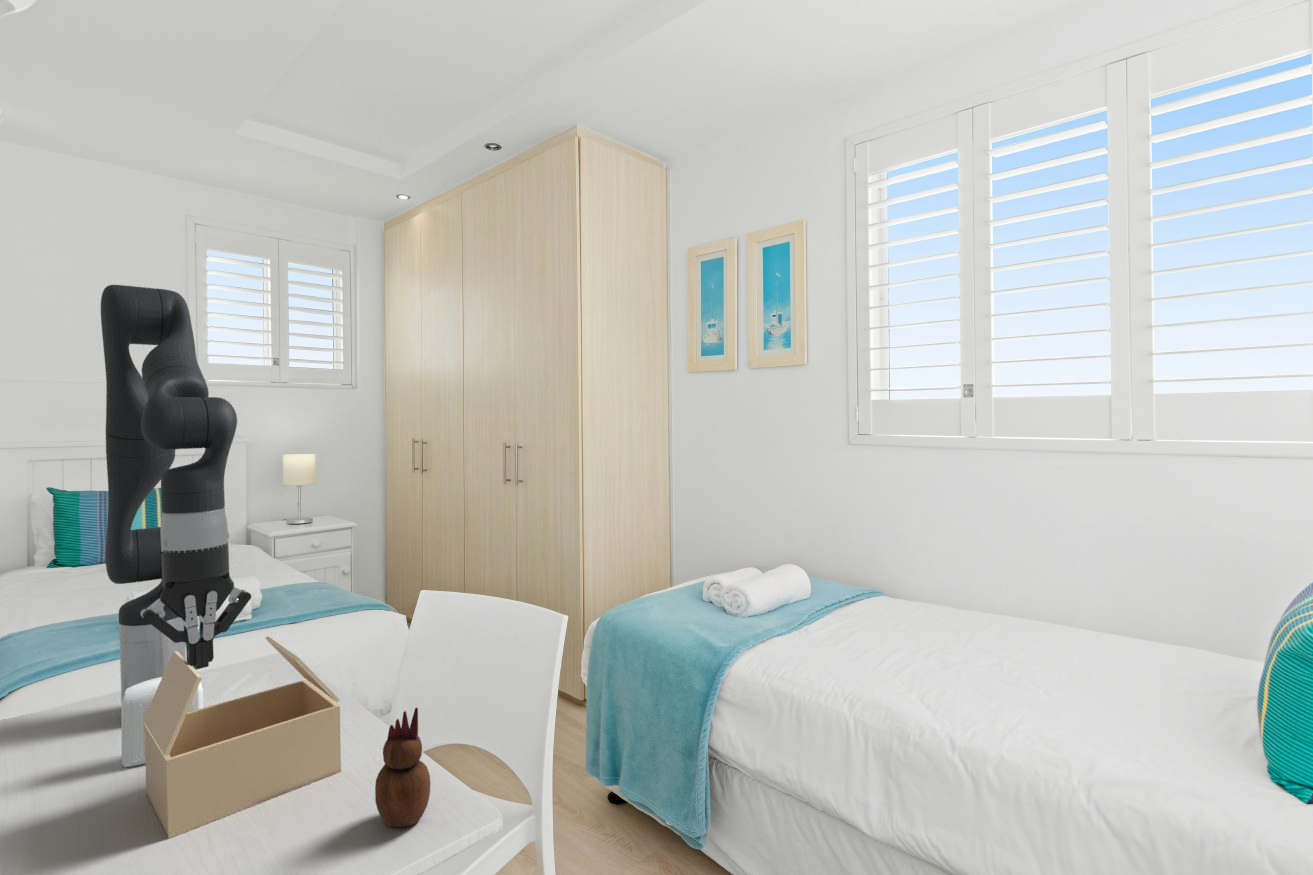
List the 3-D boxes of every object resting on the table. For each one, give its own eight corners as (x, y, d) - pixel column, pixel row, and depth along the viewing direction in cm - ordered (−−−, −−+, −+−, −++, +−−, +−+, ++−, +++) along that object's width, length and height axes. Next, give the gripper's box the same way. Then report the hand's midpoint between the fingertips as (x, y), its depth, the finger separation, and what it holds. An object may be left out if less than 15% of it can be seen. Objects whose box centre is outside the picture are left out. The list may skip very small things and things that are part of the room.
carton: (146, 794, 91) (144, 724, 91) (306, 739, 107) (305, 679, 106) (168, 838, 82) (166, 760, 81) (341, 771, 97) (339, 705, 97)
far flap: (265, 638, 102) (267, 635, 102) (303, 677, 106) (306, 674, 106) (296, 660, 92) (299, 658, 93) (337, 702, 97) (340, 699, 97)
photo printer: (204, 740, 106) (202, 666, 106) (203, 752, 103) (202, 675, 102) (124, 759, 101) (121, 680, 100) (120, 771, 97) (117, 690, 97)
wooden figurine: (439, 811, 87) (437, 702, 87) (409, 838, 82) (408, 721, 81) (398, 801, 90) (396, 695, 89) (366, 827, 84) (365, 713, 84)
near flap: (147, 720, 91) (143, 720, 91) (177, 651, 93) (173, 650, 93) (168, 755, 82) (164, 755, 81) (202, 677, 84) (197, 677, 84)
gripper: (242, 532, 96) (246, 647, 97) (128, 546, 87) (134, 674, 87) (258, 538, 91) (262, 659, 92) (139, 554, 82) (145, 690, 82)
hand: (200, 666), depth 90 cm, fingers closed
